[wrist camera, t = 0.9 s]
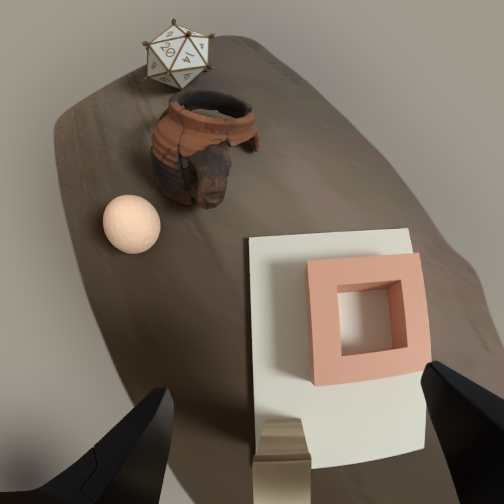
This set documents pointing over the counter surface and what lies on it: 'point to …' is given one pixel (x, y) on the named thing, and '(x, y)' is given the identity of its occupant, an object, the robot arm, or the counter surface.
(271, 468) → the dowel
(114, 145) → the counter surface
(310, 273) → the pink square ring
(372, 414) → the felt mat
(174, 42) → the game die
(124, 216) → the egg
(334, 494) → the counter surface
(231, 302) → the counter surface
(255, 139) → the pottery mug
